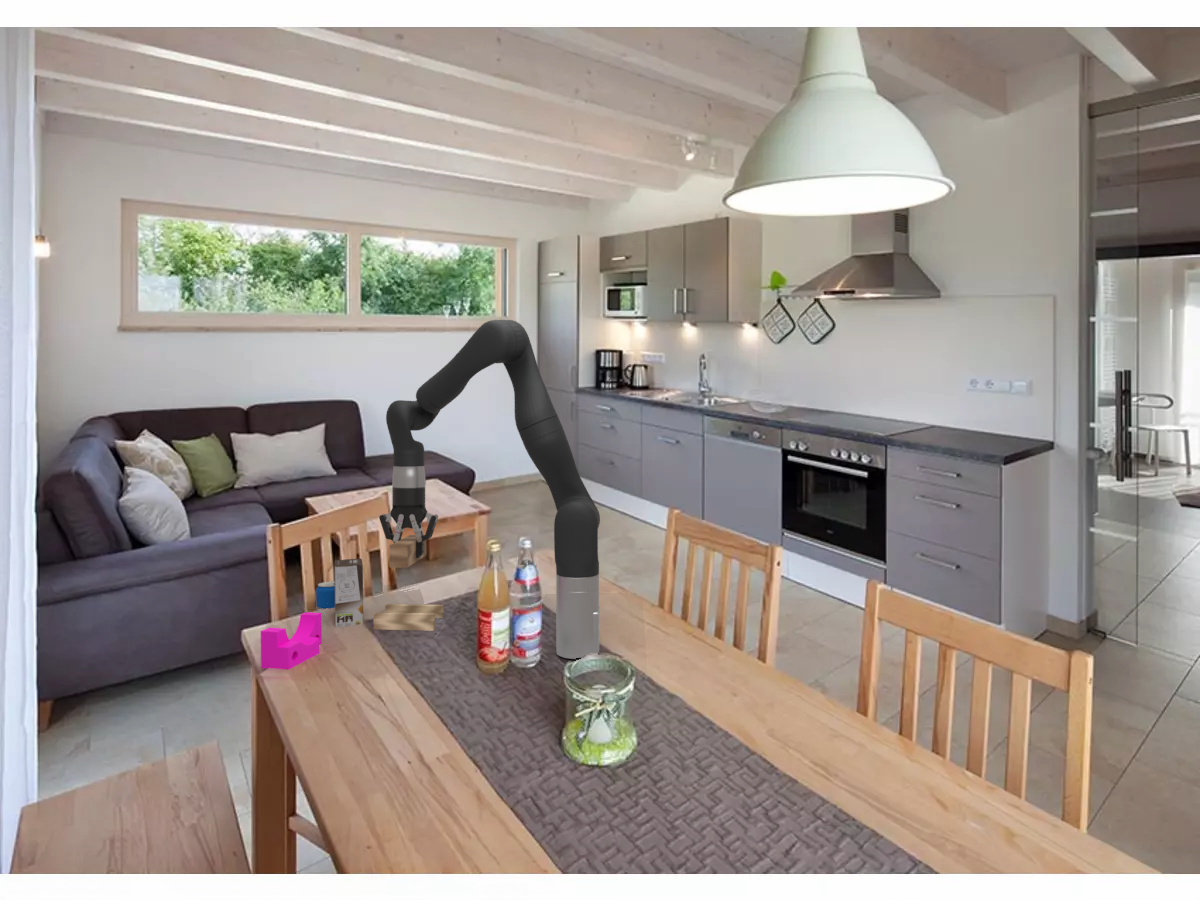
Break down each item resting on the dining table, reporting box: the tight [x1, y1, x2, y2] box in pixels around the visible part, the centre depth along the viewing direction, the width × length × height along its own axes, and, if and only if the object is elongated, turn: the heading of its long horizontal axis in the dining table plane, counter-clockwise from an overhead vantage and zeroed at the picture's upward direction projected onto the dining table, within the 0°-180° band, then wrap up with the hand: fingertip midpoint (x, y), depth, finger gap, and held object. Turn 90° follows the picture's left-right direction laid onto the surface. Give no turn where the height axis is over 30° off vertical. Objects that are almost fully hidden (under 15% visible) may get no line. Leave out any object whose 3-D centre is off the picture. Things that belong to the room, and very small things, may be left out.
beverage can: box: [315, 580, 335, 610], centre depth 177 cm, size 6×6×12 cm
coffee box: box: [334, 558, 364, 628], centre depth 169 cm, size 9×6×16 cm
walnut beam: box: [388, 534, 427, 569], centre depth 166 cm, size 16×4×5 cm, turn 179°
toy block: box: [260, 611, 323, 670], centre depth 148 cm, size 15×6×8 cm, turn 168°
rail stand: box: [372, 603, 445, 636], centre depth 167 cm, size 16×13×5 cm
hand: (408, 557), depth 167 cm, fingers closed on walnut beam, 4 cm apart
